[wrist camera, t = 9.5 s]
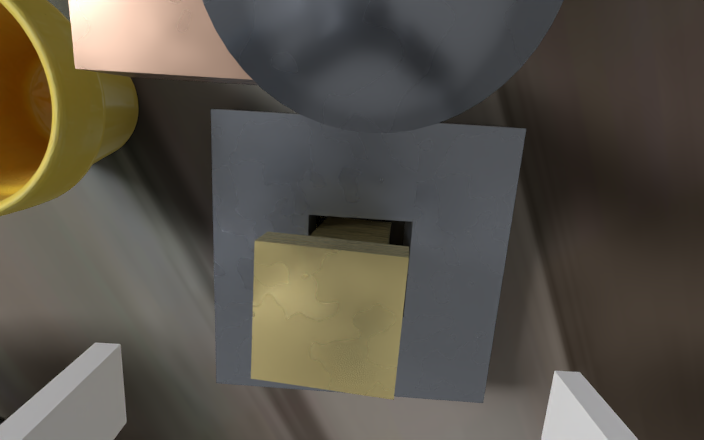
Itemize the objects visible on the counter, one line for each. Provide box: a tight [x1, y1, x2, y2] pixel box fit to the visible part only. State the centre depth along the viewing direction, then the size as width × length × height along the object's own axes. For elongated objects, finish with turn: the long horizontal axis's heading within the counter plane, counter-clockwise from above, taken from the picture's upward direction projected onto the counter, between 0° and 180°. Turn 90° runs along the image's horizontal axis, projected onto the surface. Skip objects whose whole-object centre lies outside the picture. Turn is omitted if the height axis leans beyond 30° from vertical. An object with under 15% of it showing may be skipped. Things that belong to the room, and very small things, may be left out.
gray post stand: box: [69, 0, 564, 403], centre depth 17 cm, size 16×21×20 cm
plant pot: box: [0, 0, 139, 216], centre depth 21 cm, size 10×10×10 cm
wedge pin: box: [251, 216, 409, 400], centre depth 22 cm, size 6×6×11 cm
